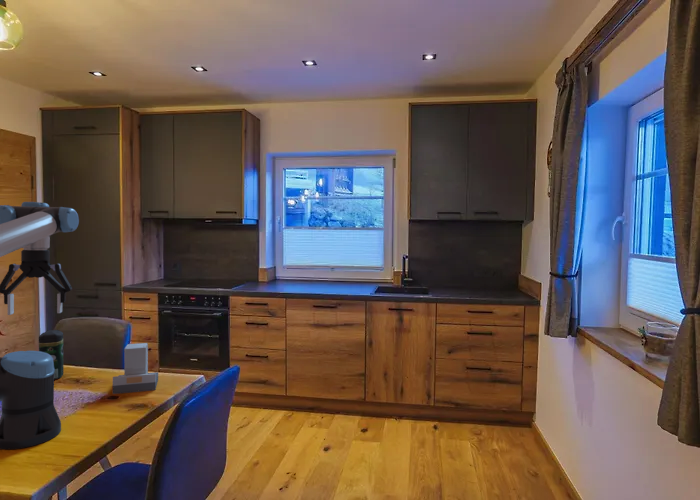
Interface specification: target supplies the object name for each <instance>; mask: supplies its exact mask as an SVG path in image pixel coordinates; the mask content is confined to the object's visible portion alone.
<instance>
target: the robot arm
mask: <svg viewBox="0 0 700 500" xmlns="http://www.w3.org/2000/svg"><path fill="white" fill-rule="evenodd" d="M79 223H80V218H79V214H78V213H77V211H76V209H74V208H72V207H65V206H64V207H63V206H58V207H57V206H55V207H54V206H50V205H49V204H48V202H47V203H46V202H38V201H37V202H36V201H23V202H22V203H21V204H20V205H9V204H7V205H6V204H4V205H2V204H1V205H0V258H2V257H5V256H7V255H8V254H10V253H14V252H15V251H18V250H20V249H22V250H21V251H20V255H21V256H20V257H21V258H20V259H21V262H20V264H16V263H11V264H9V265H8V271H7V272H6V274H5V275H4V277H3V279H2V280H1V282H0V294H3V304H4V305H7V316H11V315H13V314H15V313H14V312H15V310H14V309H15V294H14V293H12V292H13V291H14V290H16V288H17V287H18V286H19V285H21V283H22V282H24V280H25V279H26V278H30V279H31V278H44V279H45V280H47V281H48V282H49V283H50V284H51V285H52V287H54V288H55V289H56V290H57V291H58V293H57V294H56V295H57V296H56V298H57V299H56V301H57V302H56V304H57V305H56V313H57V314H61V313H63V303H65V302H66V301H67V293H68V292H70V291H73V287H72V285H71V283H70V282H69V279H68V278H67V277H66V275H65V273H64V272H63V269H62V264H61V263H56V264H51V262H50V261H51V260H50V259H51V257H50V255H51V251H50V250H49V249H50V246H51V245H50V241H51V239H50V238H51V236H52V235H54V234H57V233H70V232H71V233H72V232H74V231H76V230H77V228H78V226H79ZM19 269H20V270H21V271H22V273H21V274H20V275H19V276H18V277H17V278H16V279H15V280H14V281H13V282H12V283H11V284H10V285H9V283H10V282H11V280H12V278H13V277H14V275H15V274H16V271H18V270H19ZM51 269H52V270H53V271H54V272H55V273H56V275H57V276H58V278H59V280H60V282H61V283H62V284H61V283H60V282H59V281H57V279H56V278H55V277H54V276H53V275H52V274H51V273H50V270H51ZM8 285H9V286H8ZM54 372H55V369H54V363H53V358H52V356H51V355H49V354H48V353H45V352H40V351H39V350H25V351H24V350H19V351H13V352H9V353H6V354H5V355H3V356H1V357H0V402H1V415H0V450H17V449H19V450H20V449H24V448H30V447H34V446H37V445H41V444H43V443H45V442H48V441H50V440H51V439H52V440H53V439H54V438H56V436H58V435H59V434H60V433H61V430H62V421H61V419H60V417H59V414H58V412H57V410H56V407H55V404H54V402H55V401H54V398H55V396H54V395H55V379H54Z"/></svg>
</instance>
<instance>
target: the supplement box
mask: <svg viewBox="0 0 700 500" xmlns="http://www.w3.org/2000/svg"><path fill="white" fill-rule="evenodd" d="M148 352H149V344H148V342H144V343H142V342H141V343H127V345H126V346H125V347H124V349H123V353H124V364H123V365H124V366H123V368H124V370H123V371H124V374H123V375H124V376H128V375H140V374H148V373H149V369H148V368H149V363H148V361H149V359H148V358H149V356H148V355H149V353H148Z"/></svg>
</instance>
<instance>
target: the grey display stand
mask: <svg viewBox="0 0 700 500" xmlns="http://www.w3.org/2000/svg"><path fill="white" fill-rule="evenodd" d="M158 382H159V372H158V371H155V372H154V371H153V372H148V374H140V375H128V376H124V374H118V375H117V376H112V395H118V394H128V393H138V392H139V393H140V392H149V391H156V390H157V385H158Z"/></svg>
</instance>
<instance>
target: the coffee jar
mask: <svg viewBox="0 0 700 500" xmlns="http://www.w3.org/2000/svg"><path fill="white" fill-rule="evenodd" d="M38 351H40V352H45V353H48V354H49V355H51V356H52V358H53V363H54V369H55V372H54V380H57V379H61V378H62V377H63V375H64V332H63V331H61V330H59V329H51V330H50V329H49V330H46V331H45V332H42V333H40V335H39V336H38Z"/></svg>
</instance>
